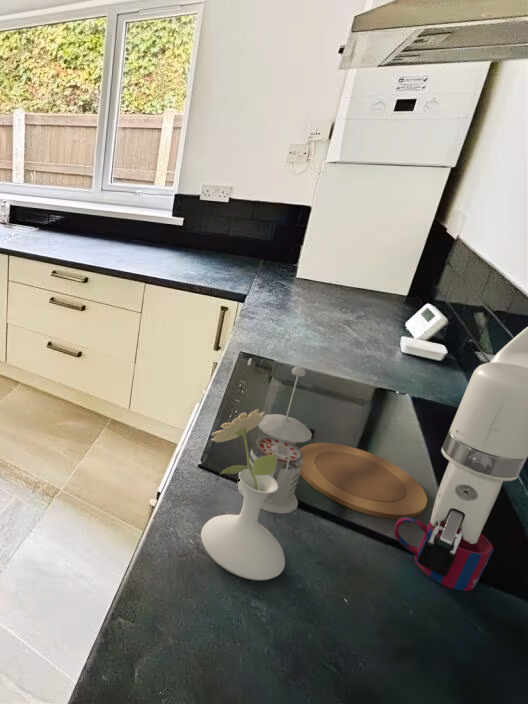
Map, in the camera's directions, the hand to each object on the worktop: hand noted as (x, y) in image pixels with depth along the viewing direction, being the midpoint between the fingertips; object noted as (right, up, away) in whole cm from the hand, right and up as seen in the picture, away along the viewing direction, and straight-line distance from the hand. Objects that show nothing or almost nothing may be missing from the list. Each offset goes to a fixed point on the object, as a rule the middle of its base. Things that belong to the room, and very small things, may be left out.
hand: (436, 554), depth 67 cm
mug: (0, -2, +1) cm, 2 cm away
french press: (-17, +3, +14) cm, 22 cm away
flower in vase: (-29, -1, +2) cm, 29 cm away
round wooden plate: (+2, +5, +19) cm, 19 cm away
